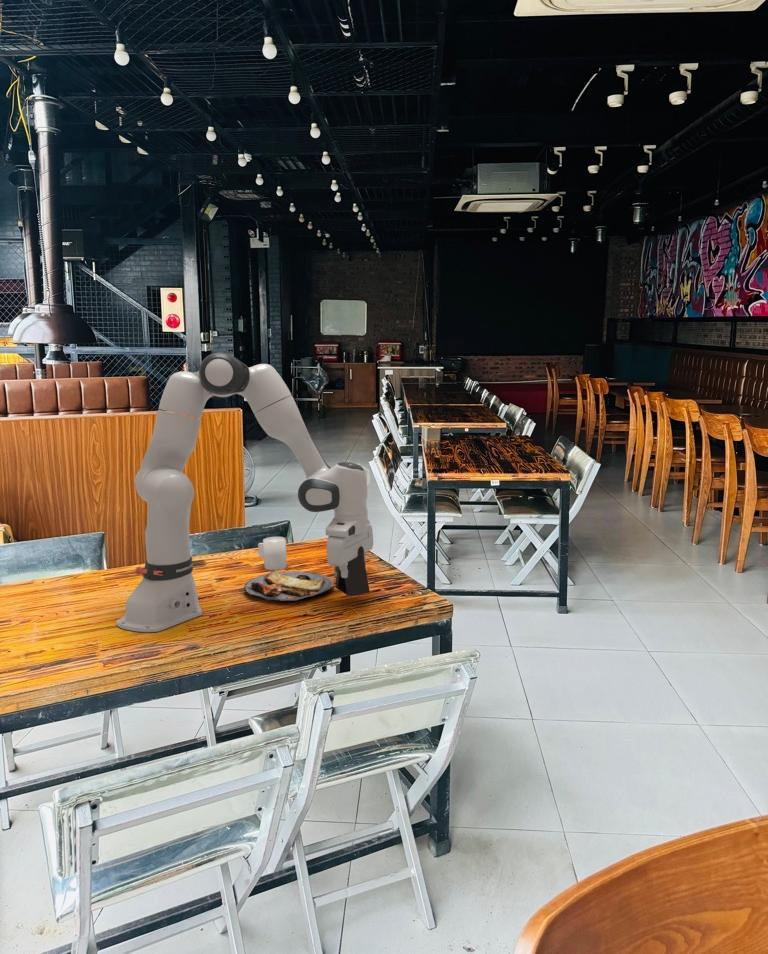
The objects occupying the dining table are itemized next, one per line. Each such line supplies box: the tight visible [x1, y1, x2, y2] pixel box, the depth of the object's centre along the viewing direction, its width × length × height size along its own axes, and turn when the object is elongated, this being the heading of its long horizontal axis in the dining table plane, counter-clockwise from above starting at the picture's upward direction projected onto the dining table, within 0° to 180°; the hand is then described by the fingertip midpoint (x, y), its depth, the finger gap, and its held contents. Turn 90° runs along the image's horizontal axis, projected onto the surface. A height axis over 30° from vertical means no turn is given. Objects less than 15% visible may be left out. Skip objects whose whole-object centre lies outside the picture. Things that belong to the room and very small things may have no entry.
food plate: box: [243, 570, 334, 602], centre depth 217 cm, size 25×23×4 cm
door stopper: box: [334, 546, 371, 597], centre depth 204 cm, size 9×6×12 cm, turn 29°
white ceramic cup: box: [257, 536, 288, 571], centre depth 239 cm, size 7×9×9 cm
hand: (351, 573), depth 204 cm, fingers closed on door stopper, 6 cm apart
